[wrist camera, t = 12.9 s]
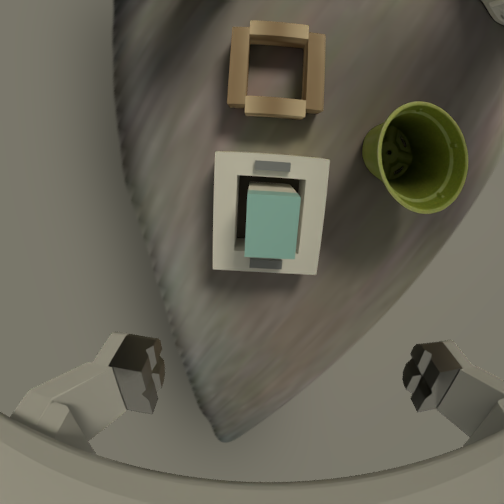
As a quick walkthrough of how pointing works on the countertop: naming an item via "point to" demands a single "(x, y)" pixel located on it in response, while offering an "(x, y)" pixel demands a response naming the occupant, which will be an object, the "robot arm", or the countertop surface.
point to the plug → (271, 220)
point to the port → (226, 209)
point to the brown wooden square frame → (277, 37)
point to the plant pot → (418, 157)
